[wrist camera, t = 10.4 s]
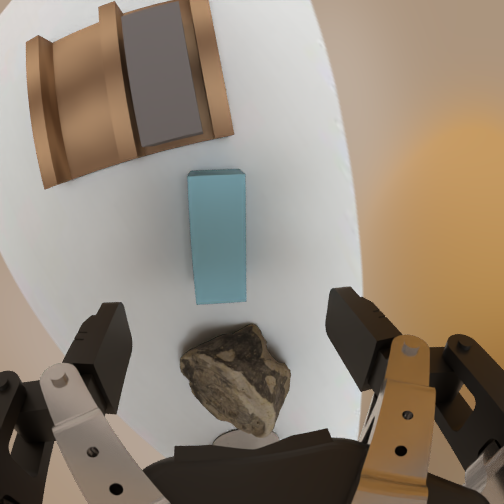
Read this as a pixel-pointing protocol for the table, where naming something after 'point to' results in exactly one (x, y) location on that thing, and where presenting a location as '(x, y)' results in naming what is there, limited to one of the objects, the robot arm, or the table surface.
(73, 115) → the block
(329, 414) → the table surface
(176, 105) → the dark gray block
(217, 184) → the tall teal pillar
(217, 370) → the brown rock
